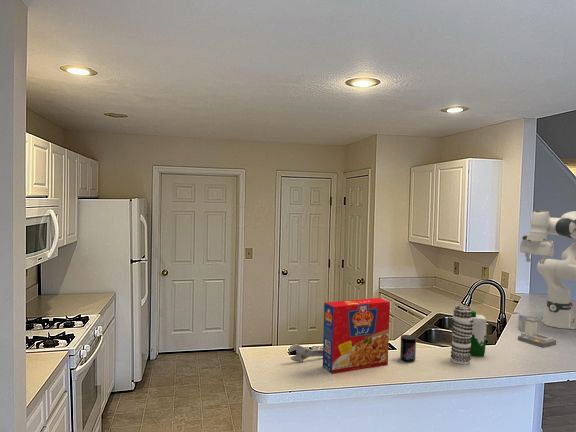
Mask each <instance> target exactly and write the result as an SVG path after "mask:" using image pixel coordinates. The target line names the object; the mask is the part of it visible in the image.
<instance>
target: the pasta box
mask: <svg viewBox="0 0 576 432" xmlns="http://www.w3.org/2000/svg"><path fill="white" fill-rule="evenodd" d="M390 306H391V302H390V301H388V300H386V299H383V298H380V297H373V298H364V299H362V298H361V299H351V300H350V299H349V300H337V301H328V302H327V301H325V302H324V303H323V307H324V308H323V342H322V343H323V346H322V349H323V356H322V368H324V370H326V371H327V372H329V374H331V375H334V374H341V373H342V374H343V373H347V372H352V371H353V372H354V371H359V370H364V369H365V370H366V369H372V368H379V367H384V366H388V365H389V344H390V343H389V342H390V341H389V339H390V313H391V312H390V309H391V307H390Z"/></svg>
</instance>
